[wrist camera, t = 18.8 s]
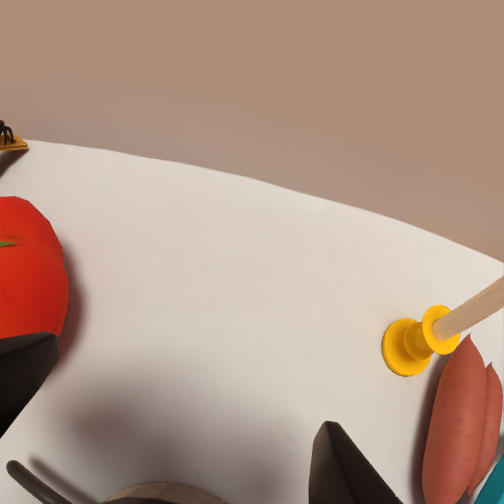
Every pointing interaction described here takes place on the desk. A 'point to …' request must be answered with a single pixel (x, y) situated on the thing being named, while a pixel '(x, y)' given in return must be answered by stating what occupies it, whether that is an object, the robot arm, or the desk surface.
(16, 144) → the spider toy trap
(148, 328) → the desk surface
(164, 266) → the desk surface
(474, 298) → the candle
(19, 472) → the pan handle
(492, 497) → the magnet
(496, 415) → the yams
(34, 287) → the tomato
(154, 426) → the desk surface
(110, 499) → the pan
